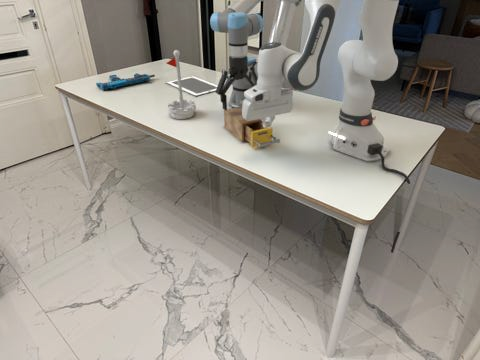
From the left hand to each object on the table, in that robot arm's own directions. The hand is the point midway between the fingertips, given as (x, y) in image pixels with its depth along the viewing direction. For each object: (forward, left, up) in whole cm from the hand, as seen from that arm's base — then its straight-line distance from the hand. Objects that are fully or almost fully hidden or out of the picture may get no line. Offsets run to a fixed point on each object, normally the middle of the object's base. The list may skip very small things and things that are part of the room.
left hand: (238, 106), depth 147 cm
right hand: (+21, +11, 0) cm, 24 cm away
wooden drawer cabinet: (+4, +2, -10) cm, 11 cm away
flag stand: (-15, -28, -10) cm, 33 cm away
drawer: (+14, +7, -9) cm, 18 cm away
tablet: (-60, -28, -10) cm, 67 cm away
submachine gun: (-67, -72, -10) cm, 99 cm away
